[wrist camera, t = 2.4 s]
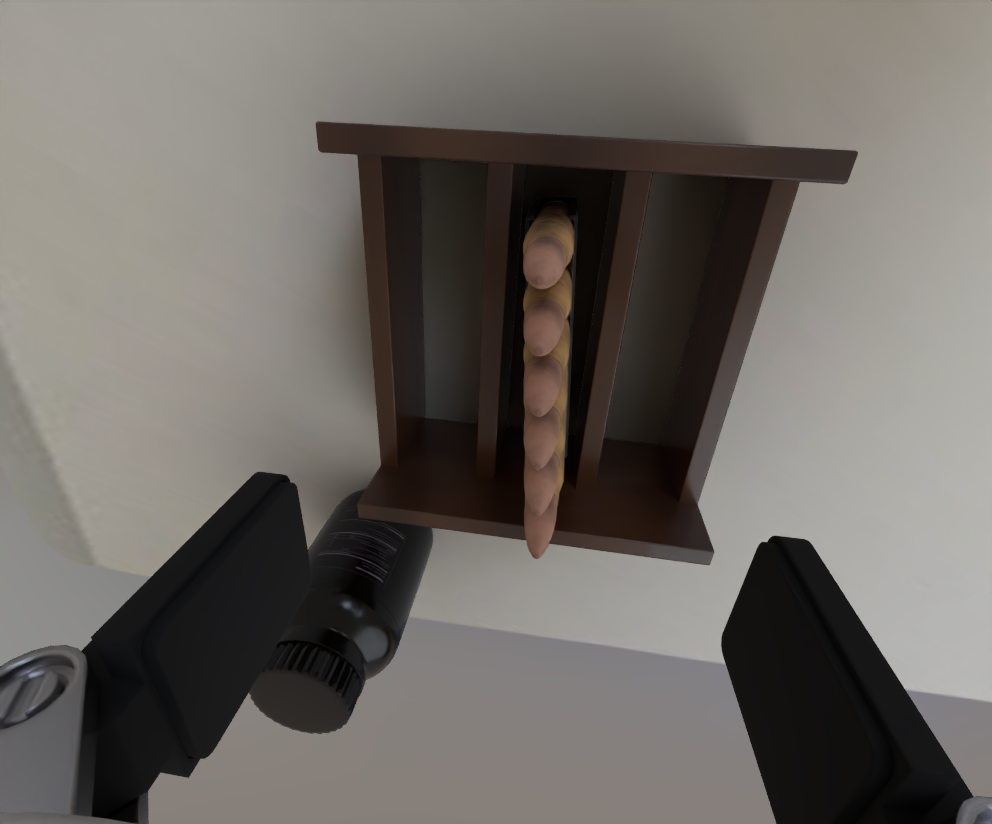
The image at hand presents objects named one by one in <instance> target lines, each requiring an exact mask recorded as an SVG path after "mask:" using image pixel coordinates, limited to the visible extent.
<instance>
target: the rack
mask: <svg viewBox="0 0 992 824" xmlns="http://www.w3.org/2000/svg"><path fill="white" fill-rule="evenodd" d="M316 132H317V141H318V149H319V151H320V152H323V153H339V154H356V155H358V168H359V181H360V194H361V207H362V221H363V234H364V247H365V260H366V273H367V286H368V300H369V313H370V326H371V339H372V352H373V365H374V379H375V392H376V405H377V418H378V431H379V444H380V458H381V466H380V468H379V469H378V471H377V472H376V474H375V476H374V477H373V479H372V481H371V482H370V484H369V486H368V487H367V489H366V490H365V492H364V494H363V495H362V497H361V499H360V500H359V502H358V504H357V507H358V516H359V518H366V519H373V520H380V521H388V522H395V523H402V524H410V525H417V526H424V527H432V528H439V529H446V530H454V531H461V532H468V533H476V534H483V535H490V536H498V537H505V538H512V539H520V540H526V537H525V529H524V508H525V490H524V467H525V447H524V429H516V428H507V417H508V403H509V388H510V374H511V360H512V346H513V332H514V318H515V304H516V290H517V276H518V262H519V248H520V234H521V220H522V206H523V192H524V178H525V165H536V166H553V167H569V168H586V169H602V170H614V175H613V181H612V188H611V195H610V201H609V208H608V215H607V221H606V228H605V235H604V241H603V248H602V255H601V261H600V268H599V275H598V281H597V288H596V295H595V301H594V308H593V315H592V321H591V328H590V335H589V341H588V348H587V355H586V361H585V368H584V375H583V381H582V388H581V394H580V401H579V408H578V414H577V421H576V428H575V434H574V435H569V434H568V446H567V457H566V458H564V480H563V484H562V487H561V489H560V492H559V500H558V505H557V514H556V522H555V527H554V531H553V534H552V537H551V540H550V542H549V544H556V545H564V546H571V547H578V548H586V549H593V550H600V551H607V552H615V553H622V554H629V555H637V556H644V557H651V558H659V559H666V560H673V561H681V562H688V563H695V564H703V565H710V562H711V560H712V557H713V554H714V549H713V547H712V544H711V541H710V538H709V535H708V533H707V530H706V527H705V524H704V521H703V519H702V516H701V513H700V510H699V507H698V505H697V504H698V501H699V498H700V495H701V492H702V488H703V485H704V482H705V479H706V476H707V473H708V470H709V466H710V463H711V460H712V457H713V454H714V451H715V448H716V444H717V441H718V438H719V435H720V432H721V429H722V426H723V422H724V419H725V416H726V413H727V410H728V407H729V404H730V400H731V397H732V394H733V391H734V388H735V385H736V382H737V378H738V375H739V372H740V369H741V366H742V363H743V360H744V356H745V353H746V350H747V347H748V344H749V341H750V338H751V334H752V331H753V328H754V325H755V322H756V319H757V315H758V312H759V309H760V306H761V303H762V300H763V297H764V293H765V290H766V287H767V284H768V281H769V278H770V275H771V271H772V268H773V265H774V262H775V259H776V256H777V253H778V249H779V246H780V243H781V240H782V237H783V234H784V231H785V227H786V224H787V221H788V218H789V215H790V212H791V209H792V205H793V202H794V199H795V196H796V193H797V190H798V187H799V183H800V182H815V183H832V184H846V183H847V182H848V179H849V177H850V174H851V171H852V168H853V165H854V163H855V160H856V157H857V154H858V152H857V151H851V150H833V149H814V148H796V147H778V146H759V145H741V144H723V143H704V142H686V141H668V140H649V139H631V138H612V137H594V136H576V135H557V134H539V133H521V132H502V131H484V130H465V129H447V128H429V127H410V126H392V125H374V124H355V123H337V122H316ZM420 158H421V159H438V160H454V161H471V162H487V163H488V173H487V199H486V226H485V252H484V278H483V304H482V330H481V357H480V383H479V409H478V424H472V423H463V422H455V421H446V420H437V419H428V418H425V372H424V326H423V279H422V233H421V187H420ZM653 173H668V174H684V175H700V176H717V177H728V181H727V185H726V189H725V193H724V197H723V201H722V205H721V209H720V213H719V217H718V221H717V225H716V229H715V233H714V237H713V241H712V244H711V248H710V252H709V256H708V260H707V264H706V268H705V272H704V276H703V280H702V284H701V288H700V292H699V296H698V300H697V304H696V308H695V312H694V316H693V320H692V324H691V328H690V331H689V335H688V339H687V343H686V347H685V351H684V355H683V359H682V363H681V367H680V371H679V375H678V379H677V383H676V387H675V391H674V395H673V399H672V403H671V407H670V411H669V414H668V418H667V422H666V426H665V430H664V434H663V438H662V442H661V445H656V444H647V443H639V442H630V441H621V440H612V439H604V435H605V429H606V424H607V418H608V413H609V408H610V402H611V397H612V391H613V386H614V381H615V375H616V370H617V364H618V359H619V354H620V348H621V343H622V337H623V332H624V327H625V321H626V316H627V310H628V305H629V299H630V294H631V289H632V283H633V278H634V272H635V267H636V262H637V256H638V251H639V245H640V240H641V235H642V229H643V224H644V218H645V213H646V208H647V202H648V197H649V191H650V186H651V181H652V175H653Z"/></svg>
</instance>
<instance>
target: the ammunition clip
mask: <svg viewBox="0 0 992 824" xmlns="http://www.w3.org/2000/svg"><path fill="white" fill-rule="evenodd" d="M577 231H578V203H577V198H576V197H537V198H536V199H535V201H534V203H533V205H532V207H531V209H530V211H529V213H528V215H527V216H526V237H525V240H524V243H523V255H524V259H523V270H524V274H525V277H526V292H525V296H524V299H523V309H524V312H525V314H524V339H525V345H524V350H523V359H524V363H525V374H524V407H525V423H524V447H525V467H524V490H525V508H524V529H525V537H526V541H527V545H528V548H529V551H530V553H531V554H532V556H533V557H534V558H535V559H538V558H540V557H541V556H542V555H543V553H544V552H545V550H546V549H547V547H548V544H549V542H550V540H551V537H552V534H553V531H554V527H555V522H556V514H557V505H558V500H559V492H560V489H561V487H562V484H563V480H564V458H566V457H567V446H568V425H569V403H570V382H571V360H572V338H573V317H574V295H575V274H576V252H577Z"/></svg>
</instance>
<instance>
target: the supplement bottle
mask: <svg viewBox="0 0 992 824" xmlns="http://www.w3.org/2000/svg"><path fill="white" fill-rule="evenodd" d="M364 492H365V490H361V491H358V492H355V493H353V494H351V495H349V496H347V497H346V498H345V499H344V500H342V501H341V503H340V504H339V505H338V506H337V507H336V509H335V510H334V512H333V513H332V515H331V516H330V518H329V519H328V521H327V522H326V524H325V525H324V527H323V528H322V530H321V531H320V533H319V534H318V536H317V537H316V539H315V540H314V542H313V543H312V545H311V546H310V548H309V549H308V555H309V560H310V566H311V572H312V583H311V587H310V590H309V592H308V594H307V596H306V597H305V599H304V601H303V602H302V604H301V606H300V607H299V609H298V611H297V612H296V614H295V616H294V617H293V619H292V621H291V622H290V624H289V626H288V627H287V629H286V631H285V632H284V634H283V636H282V637H281V639H280V641H279V642H278V644H277V646H276V647H275V649H274V651H273V652H272V654H271V656H270V657H269V659H268V661H267V662H266V664H265V666H264V668H263V669H262V671H261V673H260V674H259V676H258V678H257V679H256V681H255V683H254V684H253V686H252V688H251V689H250V691H249V694H250V695H251V699H252V700H253V701H254V704H255V705H256V706H257V707H258V708H259V710H260V711H261V712H263V713H264V714H265V715H266V716H267V717H269V718H271V719H272V720H273V721H275V722H277V723H279V724H281V725H282V726H285V727H288V728H290V729H292V730H298V731H300V732H307V733H311V734H312V733H318V734H322V733H329V732H331V731H336V730H337V729H340V728H342V727H343V725H345V724H346V723H347V722H348V720H349V718H350V716H351V714H352V712H353V709H354V707H355V704H356V701H357V699H358V697H359V696H360V694H361V692H362V690H363V687H364V684H365V680H367V679H370V678H371V677H374V676H375V675H377V674H378V673H380V672H381V671H382V670H383V669H384V668H385V667H386V666H387V665H388V664H389V663H390V661H391V660H392V659H393V657H394V655H395V652H396V650H397V648H398V645H399V642H400V639H401V636H402V634H403V631H404V628H405V625H406V622H407V619H408V616H409V613H410V610H411V608H412V605H413V602H414V599H415V596H416V593H417V590H418V587H419V584H420V581H421V578H422V576H423V573H424V570H425V567H426V564H427V561H428V558H429V555H430V552H431V548H432V543H433V532H432V528H431V527H424V526H417V525H410V524H402V523H395V522H388V521H380V520H373V519H366V518H359V516H358V507H357V504H358V502H359V500H360V499H361V497H362V495H363V494H364Z"/></svg>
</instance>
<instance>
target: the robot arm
mask: <svg viewBox="0 0 992 824" xmlns="http://www.w3.org/2000/svg"><path fill="white" fill-rule="evenodd" d="M311 583H312V572H311V566H310V560H309V555H308V549H307V543H306V537H305V531H304V525H303V519H302V514H301V508H300V502H299V496H298V490H297V486H296V485H295V484H294V483H291V482H290V479H289V478H288V476H286V475H282V474H274V473H266V472H257V473H255V474H254V475H253V476H252V477H251V478H250V479H249V480H248V481H247V482H246V483H245V484H244V485H243V486H242V487H241V488H240V489H239V490H238V491H237V492H236V493H235V494H234V495H233V496H232V497H231V498H230V499H229V500H228V501H227V502H226V503H225V504H224V505H223V506H222V507H221V508H220V509H219V510H218V511H217V512H216V513H215V514H214V515H213V516H212V517H211V518H210V519H209V520H208V521H207V522H206V523H205V524H204V525H203V526H202V527H201V528H200V529H199V530H198V531H197V532H196V533H195V534H194V535H193V536H192V537H191V538H190V539H189V540H188V541H187V542H186V543H185V544H184V545H183V546H182V547H181V548H180V549H179V550H178V551H177V552H176V553H175V554H174V555H173V556H172V557H171V558H170V559H169V560H168V561H167V562H166V563H165V564H164V565H163V566H162V567H161V568H160V569H159V570H158V571H157V572H156V573H155V574H154V575H153V576H152V577H151V578H150V579H149V580H148V581H147V582H146V583H145V584H144V585H143V586H142V587H141V588H140V589H139V590H138V591H137V592H136V593H135V594H134V595H133V596H132V597H131V598H130V599H129V600H128V601H127V602H126V603H125V604H124V605H123V606H122V607H121V608H120V609H119V610H118V611H117V612H116V613H115V614H114V615H113V616H112V617H111V618H110V619H109V620H108V621H107V622H106V623H105V624H104V625H103V626H102V627H101V628H100V629H99V630H98V631H97V632H96V633H95V634H94V635H93V636H92V637H91V638H92V641H91V642H90V643H89V644H88V645H87V646H86V647H85V648H84V649H83V650H82V651H80V650H79V649H78V648H74V647H71V646H67V645H60V646H48V647H44V648H41V649H37V650H33V651H30V652H28V653H26V654H23V655H21V656H19V657H16V658H14V659H12V660H10V661H8V662H7V663H5V664H4V665H2V666H0V824H148V790H149V789H150V787H151V786H152V784H153V783H154V781H155V780H156V778H157V777H158V775H159V774H160V772H161V773H166V774H172V775H177V776H182V777H189V776H190V775H191V773H192V772H193V770H194V768H195V766H196V765H197V763H198V762H199V760H200V758H201V759H202V758H203V759H204V758H206V757H208V756H209V755H210V754H211V753H212V752H213V750H214V749H215V747H216V746H217V744H218V742H219V741H220V739H221V737H222V736H223V734H224V733H225V731H226V729H227V728H228V726H229V724H230V723H231V721H232V719H233V718H234V716H235V714H236V713H237V711H238V709H239V708H240V706H241V704H242V703H243V701H244V699H245V698H246V696H247V694H248V693H249V691H250V689H251V688H252V686H253V684H254V683H255V681H256V679H257V678H258V676H259V674H260V673H261V671H262V669H263V668H264V666H265V664H266V662H267V661H268V659H269V657H270V656H271V654H272V652H273V651H274V649H275V647H276V646H277V644H278V642H279V641H280V639H281V637H282V636H283V634H284V632H285V631H286V629H287V627H288V626H289V624H290V622H291V621H292V619H293V617H294V616H295V614H296V612H297V611H298V609H299V607H300V606H301V604H302V602H303V601H304V599H305V597H306V596H307V594H308V592H309V590H310V587H311ZM721 646H722V653H723V656H724V660H725V663H726V666H727V669H728V672H729V675H730V678H731V681H732V685H733V688H734V691H735V694H736V697H737V701H738V703H739V707H740V710H741V713H742V716H743V719H744V722H745V725H746V729H747V732H748V735H749V738H750V741H751V744H752V748H753V751H754V754H755V757H756V760H757V764H758V767H759V770H760V773H761V776H762V779H763V782H764V786H765V789H766V792H767V795H768V798H769V801H770V805H771V808H772V811H773V814H774V817H775V820H776V823H777V824H992V797H983V796H975V797H973V795H972V794H971V792H970V790H969V789H968V787H967V786H966V784H965V783H964V781H963V779H962V778H961V776H960V775H959V773H958V772H957V770H956V768H955V767H954V766H953V764H952V762H951V761H950V759H949V758H948V756H947V754H946V753H945V751H944V750H943V748H942V747H941V745H940V743H939V742H938V740H937V739H936V737H935V736H934V734H933V733H932V731H931V729H930V728H929V726H928V725H927V723H926V722H925V720H924V719H923V717H922V715H921V714H920V712H919V711H918V709H917V708H916V706H915V705H914V703H913V701H912V700H911V698H910V697H909V695H908V694H907V692H906V690H905V689H904V687H903V686H902V684H901V683H900V681H899V680H898V678H897V676H896V675H895V673H894V672H893V670H892V669H891V667H890V665H889V664H888V662H887V661H886V659H885V658H884V656H883V655H882V653H881V651H880V650H879V648H878V647H877V645H876V644H875V642H874V641H873V639H872V637H871V636H870V634H869V633H868V631H867V630H866V628H865V627H864V625H863V624H862V622H861V620H860V619H859V617H858V616H857V614H856V613H855V611H854V609H853V608H852V606H851V605H850V603H849V602H848V600H847V599H846V597H845V595H844V594H843V592H842V591H841V589H840V588H839V586H838V585H837V583H836V581H835V580H834V578H833V577H832V575H831V574H830V572H829V570H828V569H827V567H826V566H825V564H824V563H823V561H822V560H821V558H820V556H819V555H818V553H817V552H816V550H815V549H814V547H813V545H812V544H811V543H810V542H809V541H807V540H805V539H798V538H790V537H781V536H772V537H771V538H770V539H769V540H768V542H761V543H760V544H759V546H758V548H757V550H756V553H755V555H754V558H753V560H752V563H751V565H750V567H749V570H748V572H747V575H746V577H745V580H744V582H743V585H742V587H741V590H740V592H739V595H738V597H737V600H736V602H735V604H734V607H733V609H732V612H731V614H730V617H729V619H728V622H727V624H726V627H725V629H724V632H723V635H722V641H721Z"/></svg>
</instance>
